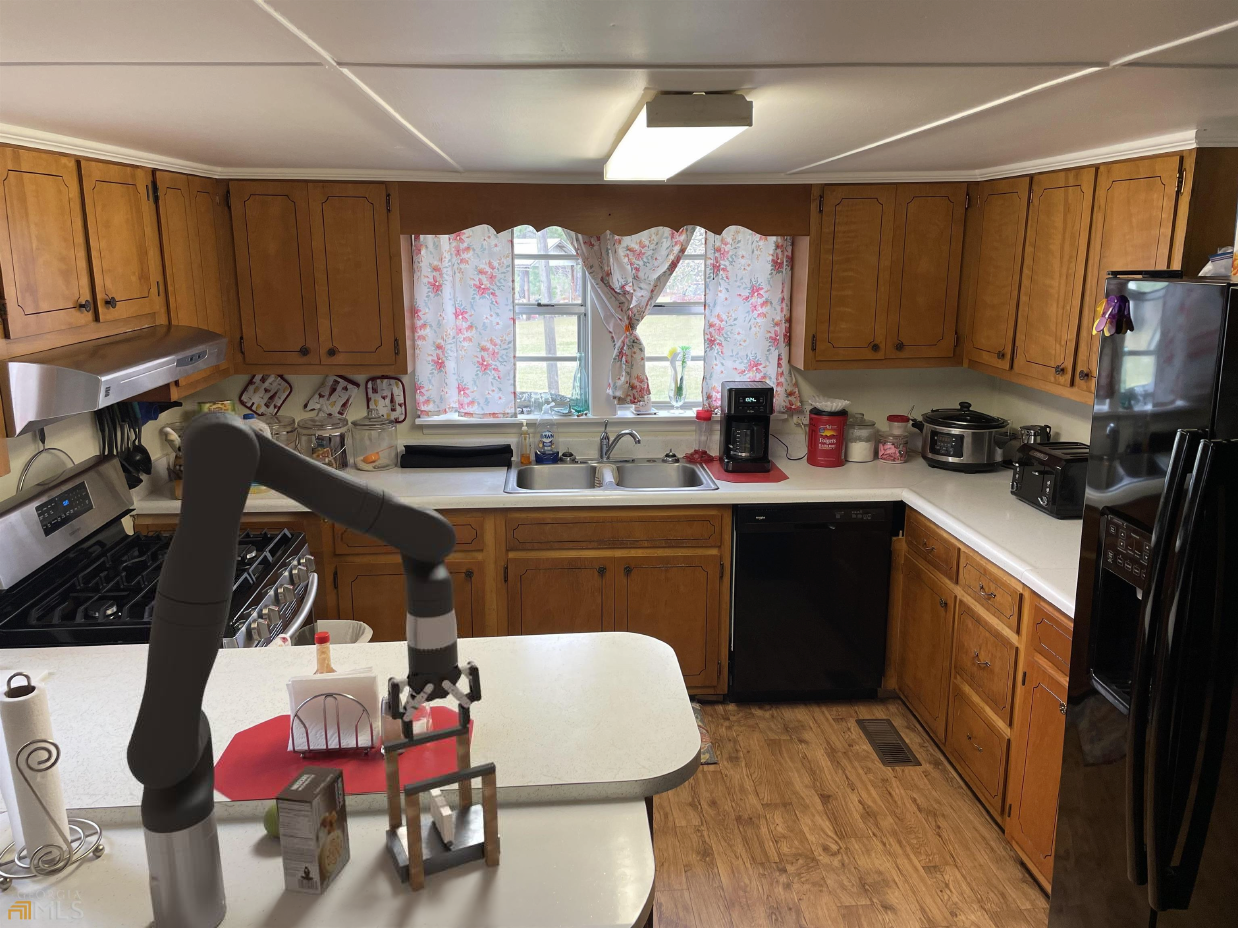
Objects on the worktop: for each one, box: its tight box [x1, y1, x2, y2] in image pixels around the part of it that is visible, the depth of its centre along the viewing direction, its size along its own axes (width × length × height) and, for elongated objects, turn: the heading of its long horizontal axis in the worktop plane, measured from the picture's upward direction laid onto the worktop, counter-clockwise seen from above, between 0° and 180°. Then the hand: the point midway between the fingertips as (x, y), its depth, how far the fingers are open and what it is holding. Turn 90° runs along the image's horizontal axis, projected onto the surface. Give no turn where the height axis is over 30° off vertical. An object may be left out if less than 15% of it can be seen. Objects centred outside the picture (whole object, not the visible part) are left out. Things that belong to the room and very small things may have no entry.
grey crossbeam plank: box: [403, 761, 497, 796], centre depth 136 cm, size 14×1×1 cm, turn 117°
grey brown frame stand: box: [383, 732, 500, 893], centre depth 144 cm, size 14×15×16 cm
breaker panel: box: [385, 803, 501, 884], centre depth 146 cm, size 16×10×3 cm, turn 117°
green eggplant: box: [263, 803, 280, 838], centre depth 149 cm, size 6×5×10 cm
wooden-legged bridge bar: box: [382, 724, 470, 753], centre depth 148 cm, size 14×1×1 cm, turn 117°
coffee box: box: [275, 765, 351, 895], centre depth 139 cm, size 9×6×16 cm
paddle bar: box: [429, 788, 454, 848], centre depth 145 cm, size 1×9×6 cm, turn 27°
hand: (436, 732), depth 141 cm, fingers open, 8 cm apart
